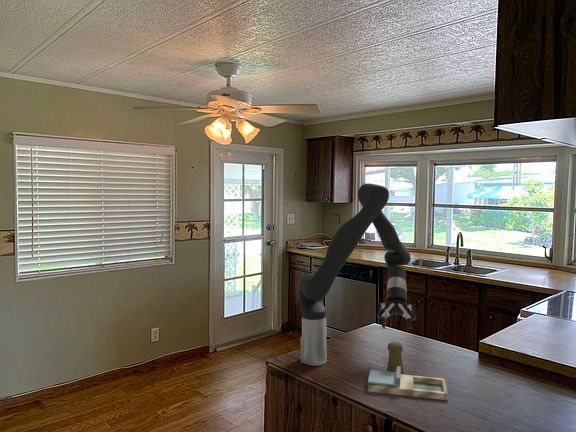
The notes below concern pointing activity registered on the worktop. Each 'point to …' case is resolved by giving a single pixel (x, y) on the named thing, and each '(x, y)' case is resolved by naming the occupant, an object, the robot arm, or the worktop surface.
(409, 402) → the worktop surface
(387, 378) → the cover
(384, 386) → the board
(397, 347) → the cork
